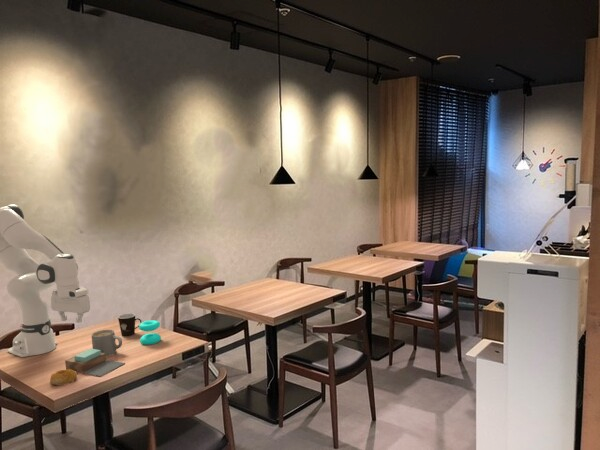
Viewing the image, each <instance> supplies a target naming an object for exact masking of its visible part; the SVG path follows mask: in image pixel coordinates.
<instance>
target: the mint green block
mask: <svg viewBox="0 0 600 450" xmlns="http://www.w3.org/2000/svg"><path fill="white" fill-rule="evenodd" d="M99 355H101V350H97V349H93V348H89V349H87V350H85V351H83V352H80V353H78V354H75V355H74V356H73V357H74V358H75V361H81V362H86V361H88V360H90V359H93V358H95V357H97V356H99Z"/></svg>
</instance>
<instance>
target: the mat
mask: <svg viewBox="0 0 600 450" xmlns="http://www.w3.org/2000/svg"><path fill="white" fill-rule="evenodd" d="M125 364H126V363H125V362H121V361H114V360H109V359H107V360H106V362H104V363H102V364H99V365H97V366H95V367H93V368H91V369H89V370H87V371H85V372H82V375H89V376H93V377H97V378H98V377H99V378H101V377H103V376H105V375H107V374H108V373H111V372H113V371H114V370H117V369H118V368H120V367H122V366H124V365H125Z"/></svg>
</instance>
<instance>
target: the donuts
mask: <svg viewBox="0 0 600 450" xmlns="http://www.w3.org/2000/svg"><path fill="white" fill-rule="evenodd" d="M141 322H142V323H139V325H138V326H139V327H138V328H139V330H140V331H142V332H149V333H146V334H143V335H142V336H141V337H140V339H139V341H140V344H142V345H146V346H149V345H151V346H152V345H155V344H157V343H159V342H161V340H162V337H161V335H160V334H159V333H156V332H152V331H156V330H157V329H159V328H160V326H161V322H160V321H159V320H154V319H153V320H152V319H149V320H144V321H141Z"/></svg>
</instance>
